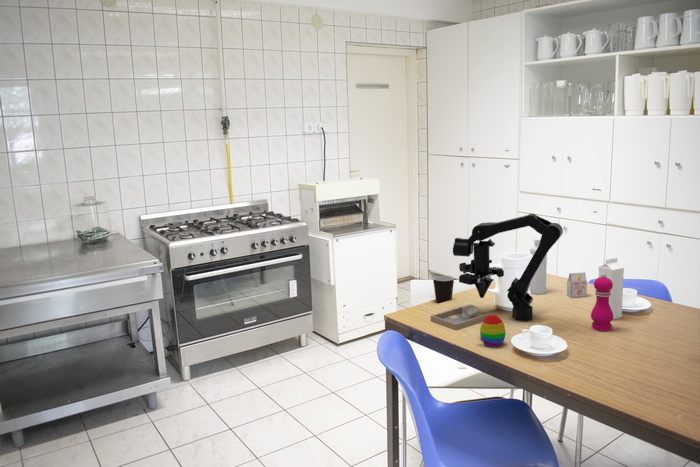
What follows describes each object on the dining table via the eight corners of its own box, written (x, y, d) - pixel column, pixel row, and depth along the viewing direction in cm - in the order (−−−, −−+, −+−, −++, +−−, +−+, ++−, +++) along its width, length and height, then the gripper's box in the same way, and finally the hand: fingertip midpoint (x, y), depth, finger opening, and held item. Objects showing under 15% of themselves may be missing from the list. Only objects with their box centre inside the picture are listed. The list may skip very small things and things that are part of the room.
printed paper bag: (566, 295, 240) (567, 272, 238) (582, 294, 241) (582, 271, 239) (571, 298, 237) (571, 274, 235) (586, 296, 237) (587, 273, 235)
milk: (596, 316, 214) (598, 258, 210) (608, 313, 216) (610, 256, 212) (610, 320, 208) (612, 261, 204) (622, 317, 211) (624, 259, 207)
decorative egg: (510, 342, 191) (510, 314, 190) (496, 350, 186) (496, 320, 184) (488, 337, 197) (488, 309, 195) (475, 344, 192) (475, 315, 190)
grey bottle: (548, 291, 246) (549, 234, 242) (541, 295, 242) (542, 237, 237) (533, 289, 251) (534, 233, 246) (526, 292, 246) (527, 235, 242)
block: (478, 317, 213) (478, 306, 213) (470, 319, 211) (470, 309, 211) (470, 314, 217) (470, 304, 216) (462, 316, 214) (462, 306, 214)
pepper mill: (613, 326, 203) (615, 271, 199) (612, 332, 196) (615, 276, 193) (590, 323, 206) (592, 269, 202) (589, 330, 199) (591, 274, 196)
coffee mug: (448, 305, 233) (447, 282, 231) (429, 302, 238) (429, 279, 237) (461, 298, 242) (460, 275, 240) (442, 295, 247) (442, 273, 246)
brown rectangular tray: (489, 323, 211) (489, 314, 210) (456, 334, 201) (455, 324, 201) (463, 314, 221) (463, 306, 221) (430, 324, 212) (430, 315, 211)
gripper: (482, 250, 225) (482, 288, 228) (448, 258, 215) (448, 298, 217) (504, 254, 216) (504, 294, 219) (470, 262, 206) (470, 304, 208)
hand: (481, 297), depth 216 cm, fingers closed
